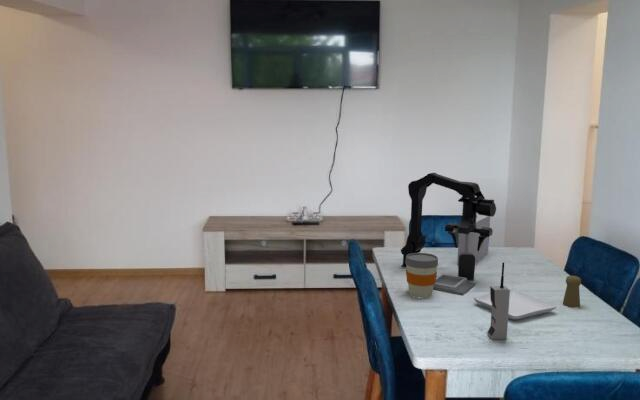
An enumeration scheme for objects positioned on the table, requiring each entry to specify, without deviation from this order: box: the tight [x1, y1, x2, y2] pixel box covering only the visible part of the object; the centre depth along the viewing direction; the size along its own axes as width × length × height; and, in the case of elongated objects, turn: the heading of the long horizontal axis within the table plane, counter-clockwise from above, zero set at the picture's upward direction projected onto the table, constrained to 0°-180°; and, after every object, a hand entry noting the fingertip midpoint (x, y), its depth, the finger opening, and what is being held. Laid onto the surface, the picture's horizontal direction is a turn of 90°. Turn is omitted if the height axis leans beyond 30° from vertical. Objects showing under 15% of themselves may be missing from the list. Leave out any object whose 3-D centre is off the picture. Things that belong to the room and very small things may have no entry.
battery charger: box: [457, 253, 476, 281], centre depth 240 cm, size 7×4×11 cm, turn 82°
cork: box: [562, 275, 582, 309], centre depth 210 cm, size 6×6×11 cm
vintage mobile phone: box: [486, 262, 510, 341], centre depth 180 cm, size 4×5×25 cm
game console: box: [456, 213, 491, 266], centre depth 268 cm, size 6×27×20 cm, turn 145°
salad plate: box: [472, 288, 557, 320], centre depth 207 cm, size 21×21×3 cm
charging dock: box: [433, 273, 476, 296], centre depth 231 cm, size 18×15×2 cm
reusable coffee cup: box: [405, 252, 439, 299], centre depth 221 cm, size 12×13×15 cm
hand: (467, 249), depth 239 cm, fingers open, 9 cm apart
